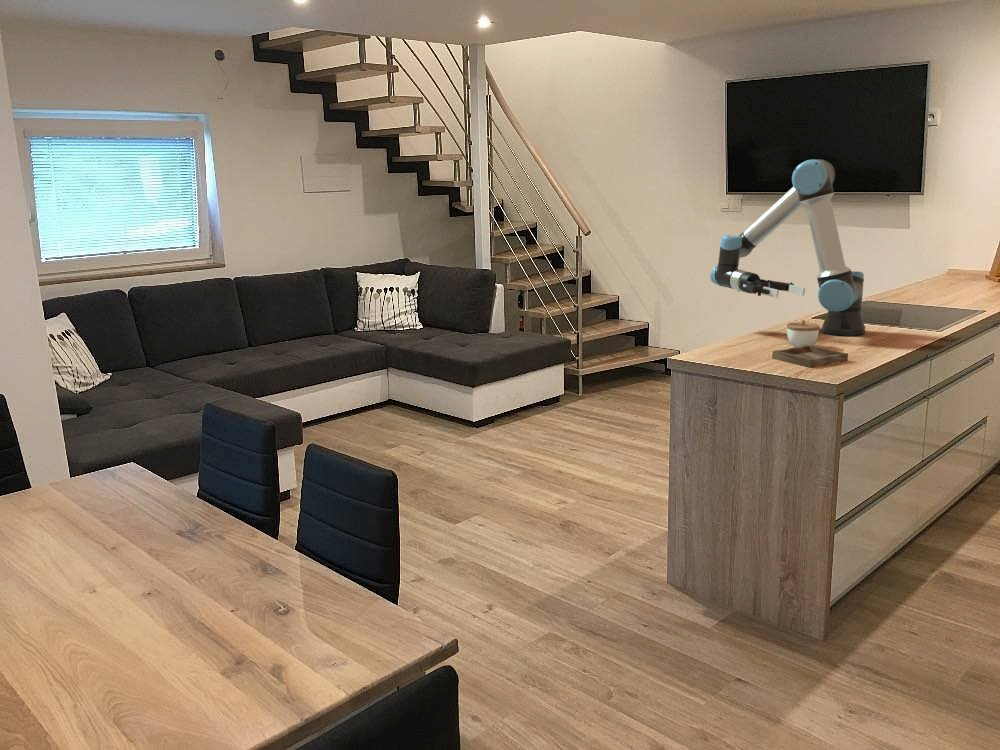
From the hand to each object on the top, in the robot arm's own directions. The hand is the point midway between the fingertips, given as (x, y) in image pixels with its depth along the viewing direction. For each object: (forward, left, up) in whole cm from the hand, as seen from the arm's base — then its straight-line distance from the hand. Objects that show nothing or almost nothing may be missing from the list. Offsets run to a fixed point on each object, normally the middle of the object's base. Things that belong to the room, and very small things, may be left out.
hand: (791, 292), depth 307 cm
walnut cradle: (+14, +23, -18) cm, 32 cm away
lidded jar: (+1, +7, -18) cm, 20 cm away
